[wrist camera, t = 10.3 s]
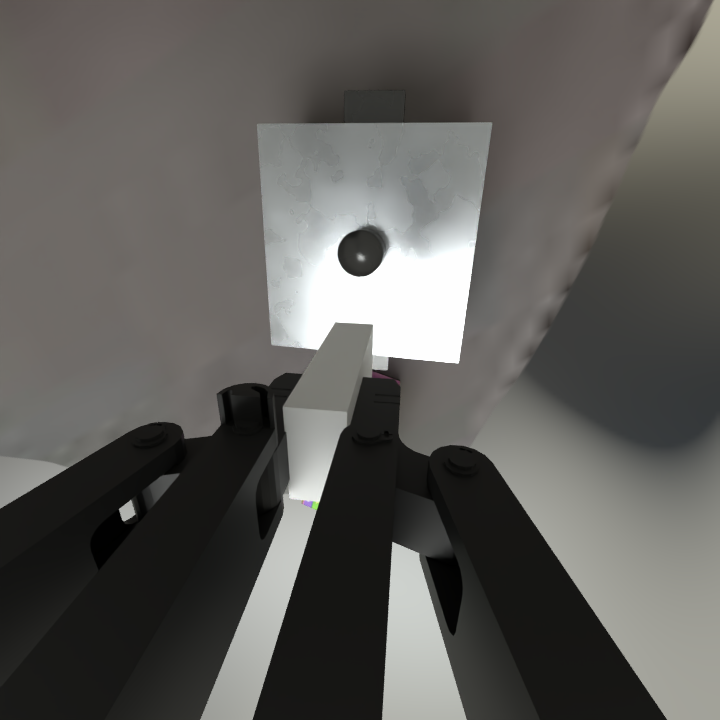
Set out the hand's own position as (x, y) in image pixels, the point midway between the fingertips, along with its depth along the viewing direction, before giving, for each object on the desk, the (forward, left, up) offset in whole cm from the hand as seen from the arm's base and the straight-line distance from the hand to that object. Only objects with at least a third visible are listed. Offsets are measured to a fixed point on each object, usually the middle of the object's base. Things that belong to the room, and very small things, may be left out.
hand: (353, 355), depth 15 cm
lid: (-3, -1, -15) cm, 15 cm away
